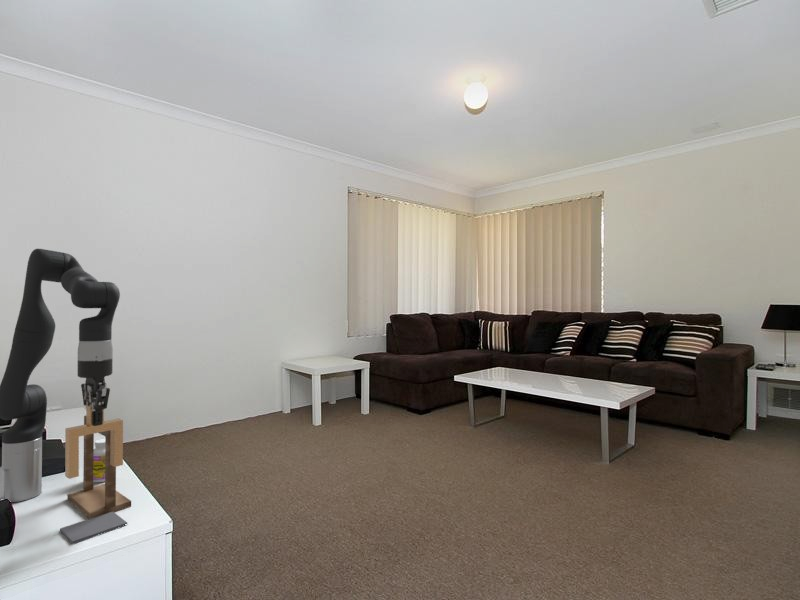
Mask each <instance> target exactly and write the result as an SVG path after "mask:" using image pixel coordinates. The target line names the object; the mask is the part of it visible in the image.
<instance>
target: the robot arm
mask: <svg viewBox="0 0 800 600" xmlns="http://www.w3.org/2000/svg"><path fill="white" fill-rule="evenodd" d="M24 280H25V281H24V287H23V294H22V295H23V296H22V300H21V304H20V308H19V309H20V310H19V313H18V316H17V321H16V323H15V329H14V332H13V337H12V342H11V349H10V352H9V356H8V359H7V364H6V367H5V371H4V373H3V377H2V379H1V382H0V419H1V420H4V421H11V420H12V421H13V420H15V419H16V421H15V422H14V423H13V424H12V425H11V426H10V427H8V429H6V430H5V431H3V433H2V436H1V437H2V438H1V446H2V447H1V466H0V500H1V499H9V500H10V501H11V503H17V502H22V501H23V502H24V501H27V500H31V499H33V498H36V497H38V496H39V495H40V494H42V487H43V483H42V481H43V480H42V479H43V474H42V473H43V472H42V471H43V470H42V469H43V467H42V465H43V457H42V456H43V431H44V429H45V427H46V421H47V409H48V408H47V406H48V405H47V404H48V399H47V398H48V397H47V394H46V391H45V390H44V387H42V386H41V385H39V384H28V382H29V380H30V376H31V375H32V373H33V372H34V370H35V368H36V367H37V366H38V365H39V363H40V362H41V361H42V360H43V359H44V357H45V356H46V355H47V354H48V353H49V350H50V349H51V347H52V344H53V341H54V336H55V331H56V322H55V319H54V318H53V315H52V313H51V310H49V308H48V305H46V303H45V300H44V296H43V293H42V283H43V281H44V282H45V281H46V282H52V283H53V282H54V283H60V284H61V287H62V288H63V289H64V291H66V292H67V293H68V294H70V300H71V303H72V305H73V306H75V307H77V308H80V309H100V310H99V312H98V314H96V315H94V316H90V317H86V318H82V319H81V320H80V321H79V324H78V346H77V377H78V378H80V379H85V383H81V385H80V388H81V392H82V393H81V395H82V401H83V406H85V407H86V405H91V404H92V425H93V426H98V425H102V424H103V410H104V411H105V410H106V409H107V408H108V402H109V398H110V392H111V388H110V387H108V386H107V383H106V380H105V377H109V376H112V375H113V355H114V354H113V351H114V349H113V342H112V341H113V340H112V336H113V335H112V329H113V328H112V326H113V322H114V316H115V314H116V311H117V307H118V305H119V301H120V298H121V293H120V289H119V287H118V286H117V285H116V283H114V282H111V281H99V280H97V279H96V277H94V276H92V275H91V274H90V273H88V272H87V271H85V269H84V268H83V267H82V266H81V264H80V262H79V261H78V260H77V259H76V257H74V256H73V255H72V254H69V253H68V252H67V253H66V252H61V251H55V250H50V249H44V248H35V249H33V250H32V251H31V252H30V255H29V258H28V261H27V266H26V272H25V279H24ZM99 403H100V405H99Z"/></svg>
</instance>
